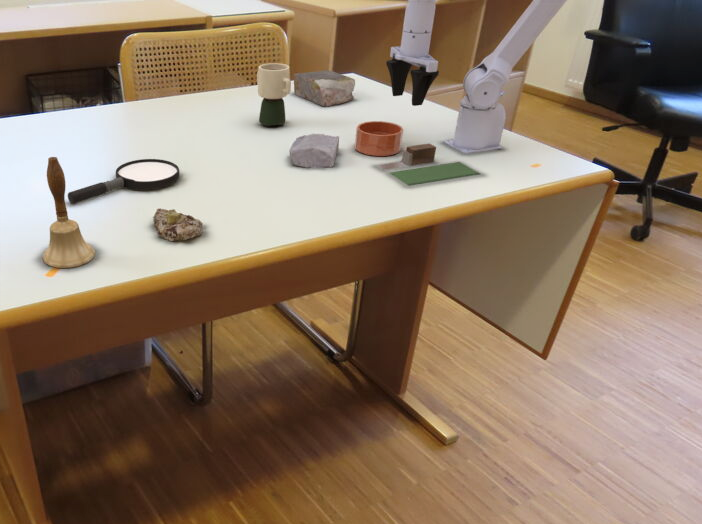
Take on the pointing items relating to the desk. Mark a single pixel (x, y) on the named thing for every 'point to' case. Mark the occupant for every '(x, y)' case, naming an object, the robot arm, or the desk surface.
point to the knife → (414, 156)
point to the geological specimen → (324, 87)
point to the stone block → (314, 150)
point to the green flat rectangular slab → (434, 173)
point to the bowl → (378, 138)
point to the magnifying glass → (132, 178)
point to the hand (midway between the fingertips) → (407, 100)
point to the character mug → (273, 92)
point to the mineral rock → (176, 225)
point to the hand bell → (64, 227)
